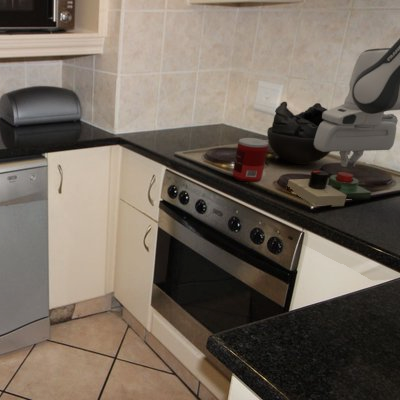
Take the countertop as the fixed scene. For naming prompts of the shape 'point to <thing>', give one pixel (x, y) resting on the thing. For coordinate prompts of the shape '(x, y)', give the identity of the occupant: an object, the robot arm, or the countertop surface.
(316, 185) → the oven knob
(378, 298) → the countertop surface
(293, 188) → the panel
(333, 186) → the button housing
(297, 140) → the coal bowl
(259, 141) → the canned food
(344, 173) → the button
